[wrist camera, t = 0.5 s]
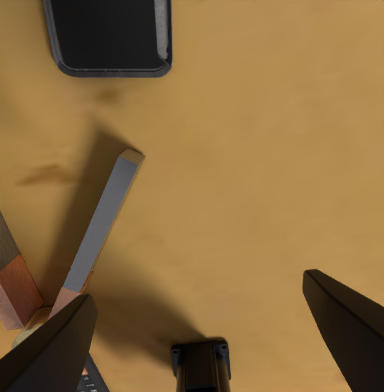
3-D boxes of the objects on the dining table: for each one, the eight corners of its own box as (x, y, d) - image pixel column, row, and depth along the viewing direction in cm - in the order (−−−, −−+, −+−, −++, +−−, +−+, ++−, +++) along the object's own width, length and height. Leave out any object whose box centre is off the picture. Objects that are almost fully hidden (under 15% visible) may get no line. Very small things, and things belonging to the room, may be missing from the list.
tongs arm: (63, 335, 25) (46, 366, 22) (29, 325, 25) (8, 355, 22) (147, 157, 18) (140, 168, 15) (104, 135, 18) (87, 141, 15)
